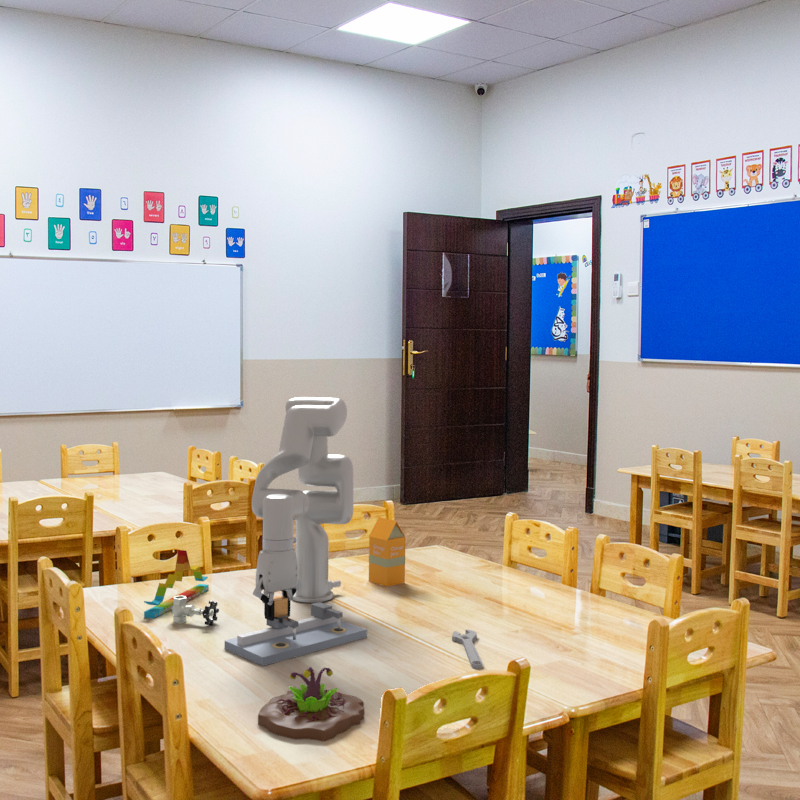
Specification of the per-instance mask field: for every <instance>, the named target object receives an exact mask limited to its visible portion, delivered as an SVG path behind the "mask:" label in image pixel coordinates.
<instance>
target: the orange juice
mask: <svg viewBox="0 0 800 800" xmlns="http://www.w3.org/2000/svg"><path fill="white" fill-rule="evenodd" d="M368 537H369V538H368V539H369V542H368V547H369V548H368V550H369V551H368V552H369V553H368V582H371V583H374V584H377V585H380V586H383V587H388V588H389V587H392V586H395V585H400V584H401V585H402V584H405V582H406V581H405V580H406V577H405V576H406V536H405V535H404V533H403V531H402V529H401V527H400V526H399V524H398V521H397V520H394V519H388V518H385V517H379V516H378V518H377V519H376V521H375V524H374V525H373V528H372V529H371V531H370V533H369V536H368Z"/></svg>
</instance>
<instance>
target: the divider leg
mask: <svg viewBox="0 0 800 800" xmlns="http://www.w3.org/2000/svg"><path fill="white" fill-rule="evenodd" d="M272 604H273V605H274V621H270V620H268V619H266V626H269V628H270V627H273V628H275V629H278V630H279V629H283V628H287V627H288V626H290V627H292V628H293V640H296V627H298V621H299V620H295V619H292V618H290V617H288V615H286V614H288V598H286V597H283V596H282V595H278V596H274V597H273V603H272Z"/></svg>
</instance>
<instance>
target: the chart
mask: <svg viewBox="0 0 800 800" xmlns="http://www.w3.org/2000/svg"><path fill="white" fill-rule="evenodd" d="M184 571H192V574H193V577H194V580H195V581H196V582H205V581H206V580H207V579H208V576H204V575H203V574H202V571H201V567H200V566H199V565H191V564H190V559H189V557H188V552H187V550H183V549H177V557H176V562H175V568H174V573H173V574H171V573H169V574H168V575H167V578H166V581H165V583H163V582H162V583H161V582H159V583H158V585H157V590H156V594H155V596H154V598H153V600H152V601H147V600H144V601H143V603H144V604H146V605H149V606H153V607H151V608H150V607H149V608H148V609H146V610H145V611H143V618H145V619H146V618H147V619H155V618H157V617H159V616H161V615H163V614H166V613H167V612H169V611H172V607H173V599H174V597H175V596H172V597H170V598H168V599H166V600H164V599H165V595H166V592H167V589H173V588H174V586H175V583H176V582H183V576H184V575H183V574H184ZM209 589H210V588H209V584H207V583H206V584H204V583H198V584H197V585H194V586H193V587H191V588H188V589H187V590H185V591H183V592H181V593H179V594H177V595H176V596H186V603H187V602H189V601H190V600H192V599H195V598H196V597H198V596H200V595H202V594H204V593H206V592H208V591H209Z"/></svg>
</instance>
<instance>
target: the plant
mask: <svg viewBox="0 0 800 800" xmlns="http://www.w3.org/2000/svg"><path fill="white" fill-rule="evenodd" d="M324 672H326V673H325V674H326V675H327V676H328V677H331V676H332V675H333V671H332V669H331V668H329V667H325V666H324V667H323V668H322V669H320V671H319V673H318V674H317V676H316V674H315V670H314V669H313V667H312V666H309V667H307V668H305V669H304V671H303V673H300V672H297V671H292V672H291V673H290V674H289V678H290V680H295V679H296V678H297V677H300V678H301V679H302V681H304V684H303V683H300V685H299V688H297V687H294V686H288V689H289V690H288V691H287V692H286V693H284V694H282V695H279V696H278V695H277V696H274V697H272V698H271V699H270V700H269V701H268V702H267V703H266V704H265V705H264V706H262V707H261V709H260V711H259V712H258V714H257V725H258V726H261V727H262V728H265V729H266V730H267V731H268V732H269V733H271V734H273V735H275V736H280V737H284V738H288V739H291V740H314V741H320V742H327V741H329V740H332V739H334V738H336V737H337V736H338V735H340V734H342V733H344V732H347V731H348V730H349V729H350V728H351V727H353V726H357V725H361V721H362V720H364V719H365V703H364V701H363V700H362V699H361V698H360V697H357V696H354V695H350V694H346V693H342V692H339V691H338V690H339V688H337V687H336V688H331V689H328V690H327V689H325V688H326V684H325V683H321V680H322V679H321V678H322V676H323V673H324ZM308 678H309V679H308Z"/></svg>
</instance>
